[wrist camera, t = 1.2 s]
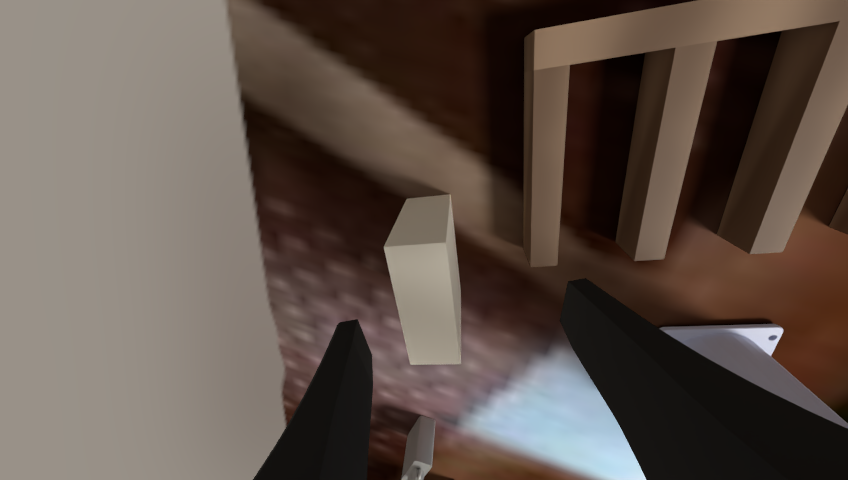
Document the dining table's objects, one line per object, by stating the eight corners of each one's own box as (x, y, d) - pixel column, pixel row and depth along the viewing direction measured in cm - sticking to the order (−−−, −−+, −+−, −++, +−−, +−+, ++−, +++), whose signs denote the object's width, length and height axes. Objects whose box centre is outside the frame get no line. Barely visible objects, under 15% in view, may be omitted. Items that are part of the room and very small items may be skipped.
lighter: (420, 414, 31) (408, 511, 24) (435, 420, 31) (429, 517, 24) (398, 448, 35) (383, 542, 27) (413, 453, 35) (401, 547, 28)
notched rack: (1211, -85, 12) (1387, -126, 9) (988, 215, 17) (1066, 234, 15) (524, 37, 16) (534, 29, 14) (523, 248, 21) (530, 267, 19)
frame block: (460, 291, 24) (461, 364, 17) (423, 292, 24) (410, 364, 18) (450, 194, 20) (445, 242, 14) (406, 198, 21) (383, 247, 14)
